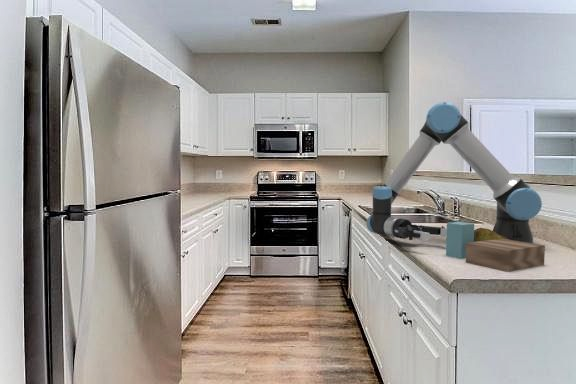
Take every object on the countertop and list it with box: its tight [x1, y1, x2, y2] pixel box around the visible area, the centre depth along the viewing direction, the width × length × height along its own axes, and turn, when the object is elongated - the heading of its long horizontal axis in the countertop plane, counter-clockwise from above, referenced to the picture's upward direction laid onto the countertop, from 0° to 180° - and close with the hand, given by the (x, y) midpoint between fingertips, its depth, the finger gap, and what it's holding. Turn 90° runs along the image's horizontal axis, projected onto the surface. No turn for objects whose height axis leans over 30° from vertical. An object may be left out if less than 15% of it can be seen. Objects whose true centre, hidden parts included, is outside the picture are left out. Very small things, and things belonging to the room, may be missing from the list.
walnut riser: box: [465, 239, 546, 272], centre depth 133 cm, size 18×14×6 cm
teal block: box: [445, 221, 475, 260], centre depth 143 cm, size 6×6×11 cm
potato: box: [474, 227, 509, 242], centre depth 153 cm, size 8×13×8 cm, turn 52°
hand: (442, 235), depth 149 cm, fingers open, 13 cm apart
